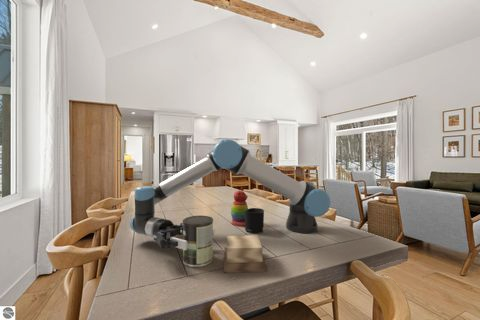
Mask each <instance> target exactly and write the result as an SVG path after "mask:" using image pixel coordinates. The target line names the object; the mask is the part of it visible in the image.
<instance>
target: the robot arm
mask: <svg viewBox="0 0 480 320" xmlns="http://www.w3.org/2000/svg"><path fill="white" fill-rule="evenodd" d="M223 169H225V170H227V171H229V172H231V173H233V174H234V175H235V176H236V175H241V174H242V175H243V176H246V177H247V178H249V179H251V180H253V181H255V182H257V183H259V184H261V185H262V186H263V187H266V188H268V189H269V190H271V191H273V192H275V193H277V194H279V195H281V196H283V197H284V198H286V199H288V201H289V212H288V216H287V219H286V223H285V228H286V229H287V230H288V231H291V232H294V233H301V234H312V233H315V232H317V231H318V223H317V219H316V218H318V217H319V218H320V217H321V216H324V215H326V214H327V213H328V211H329V210H330V207H331V197H330V195H329V194H328V192H327V191H325V190H324V189H323V188H318V187H316V186H315V185H314V182H311V181H309V182H307V181H305V180H302V181H298V180H296V179H294V178H293V177H291V176H288V175H287V174H285V173H283V172H282V171H280V170H278V169H276V168H274V167H272V166H270V165H269V164H267V163H265V162H264V161H261V160H260V159H257V158H256V157H255V156H252V154H251V151H250V150H249V149H247V148H246V147H244V146H242V145H240V144H239V143H238V142H237V141H235V140H233V139H222V140H220V141H217V142H216V144H215V146H214V147H213V150H212V151H210V152H209V153H207V154H206V157H204V158H202V159H201V160H199V161H197V162H195V163H193V164H192V165H190V166H188V167H186V168H184V169H183V170H181V171H179V172H178V173H176V174H174V175H173V176H171V177H168V178H167V179H165V180H163V181H162V182H160V183H158V184H156V185H154V186H152V185H143V186H138V187H135V190H134V196H133V197H134V216H132V217H131V218H130V221H129V227H130V229H131V231H132V232H135V233H137V234H140V235H144V236H148V237H152V238H153V241H156V242H157V244H158V246H159V248H160V249H164V248H165V246H166V249H168V250H169V249H171V247H172V248H176V249H180V250H182V251H183V250H187V241H185V240H183V238H177V236H183V222H181V223H180V225H179V224H174V223H173V221H172V220H170V219H166V218H162V217H157V216H155V208H156V207H155V206H156V205H157V204H158V203H160V202H162V201H163V200H165V199H167V198H168V197H170V196H172V195H174V194H175V193H177V192H179V191H181V190H182V189H185V188H186V187H188V186H189V185H192V184H193V183H195V182H197V181H198V180H201V179H202V178H204V177H206V176H207V175H209V174H211V173H213V172H218V171H220V170H223ZM214 237H215V228H213V238H214Z"/></svg>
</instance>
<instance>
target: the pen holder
mask: <svg viewBox="0 0 480 320" xmlns="http://www.w3.org/2000/svg"><path fill="white" fill-rule="evenodd" d="M264 216H265V210H264V209H263V208H260V207H250V208H248V210H246V211H245V227H244V228H245V232H246V233H249V234H253V235H257V234H261V233H262V232H264V220H265V217H264Z"/></svg>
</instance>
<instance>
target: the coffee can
mask: <svg viewBox="0 0 480 320" xmlns="http://www.w3.org/2000/svg"><path fill="white" fill-rule="evenodd" d="M213 222H214V218H213V217H212V216H209V215H191V216H188V217H185V218H183V220H182V223H183V235H182V240H185V241H187V250H182V263H183V264H184V265H185V266H188V267H190V268H201V267H205V266H207V265H209V264H211V263H212V262H213V260H214V257H213V256H214V254H213V253H214V252H213V251H214V249H213V243H214V242H213V241H214V240H213V239H214V237H213V229H214V228H213V227H214V225H213Z"/></svg>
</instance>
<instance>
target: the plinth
mask: <svg viewBox="0 0 480 320" xmlns="http://www.w3.org/2000/svg"><path fill="white" fill-rule="evenodd" d="M226 237H227V239H226V244H227V246H225V247H224V250H223V251H224V253H223V254H224V256H223V273H225V274H227V273H228V274H229V273H256V272H257V273H258V272H259V273H261V272H267V261H266V259H265V256H264V254H263V246H262V243H261V241H260V238H259V235H258V234H253V235H251V234H250V235H248V234H246V235H227V236H226Z"/></svg>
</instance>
